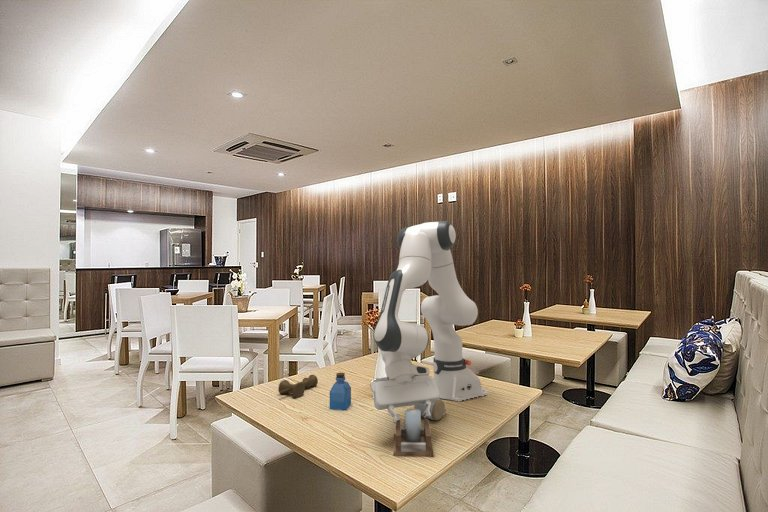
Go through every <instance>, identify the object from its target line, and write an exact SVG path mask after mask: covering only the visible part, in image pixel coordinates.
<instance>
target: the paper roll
mask: <svg viewBox="0 0 768 512" xmlns="http://www.w3.org/2000/svg"><path fill="white" fill-rule="evenodd" d="M404 417H405V421H404V422H405V424H404V425H405V427H404V428H405V442H416V443H421V428H422V425H421V423H422V419H421V418H422V416H421V411H420V410H419V409H415V407H414V408H411V407H410V408H407V409H405V416H404Z"/></svg>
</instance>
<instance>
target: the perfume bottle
mask: <svg viewBox="0 0 768 512" xmlns="http://www.w3.org/2000/svg"><path fill="white" fill-rule="evenodd" d="M335 375H336V376H335V382H334V383H333V385H332V386H331V389H330V390H329V410H335V411H347V410H348V409H349V408H350V406H351V405H352V387H351V385H350V383H349V382H348V381H346V376H345V375H346V373H345V372H336V373H335Z"/></svg>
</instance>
